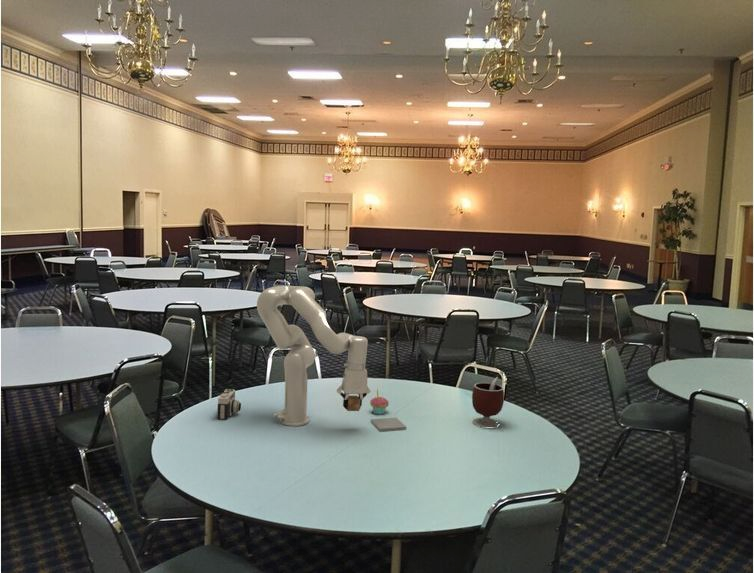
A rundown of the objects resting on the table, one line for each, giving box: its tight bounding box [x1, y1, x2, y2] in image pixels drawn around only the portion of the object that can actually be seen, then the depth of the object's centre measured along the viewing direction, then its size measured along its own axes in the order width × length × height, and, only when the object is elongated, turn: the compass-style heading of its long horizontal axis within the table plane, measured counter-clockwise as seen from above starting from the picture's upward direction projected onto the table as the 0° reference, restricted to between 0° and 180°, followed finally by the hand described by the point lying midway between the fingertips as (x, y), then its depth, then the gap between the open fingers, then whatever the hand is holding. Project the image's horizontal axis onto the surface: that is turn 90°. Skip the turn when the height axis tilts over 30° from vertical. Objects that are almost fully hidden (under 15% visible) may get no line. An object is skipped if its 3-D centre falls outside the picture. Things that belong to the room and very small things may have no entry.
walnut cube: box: [346, 394, 361, 412], centre depth 246 cm, size 5×5×5 cm
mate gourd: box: [471, 376, 505, 428], centre depth 262 cm, size 16×14×20 cm
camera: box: [216, 388, 242, 421], centre depth 258 cm, size 14×8×10 cm, turn 0°
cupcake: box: [369, 387, 389, 415], centre depth 270 cm, size 9×8×12 cm
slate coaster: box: [370, 417, 407, 433], centre depth 254 cm, size 12×12×1 cm
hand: (352, 407), depth 247 cm, fingers closed on walnut cube, 5 cm apart
